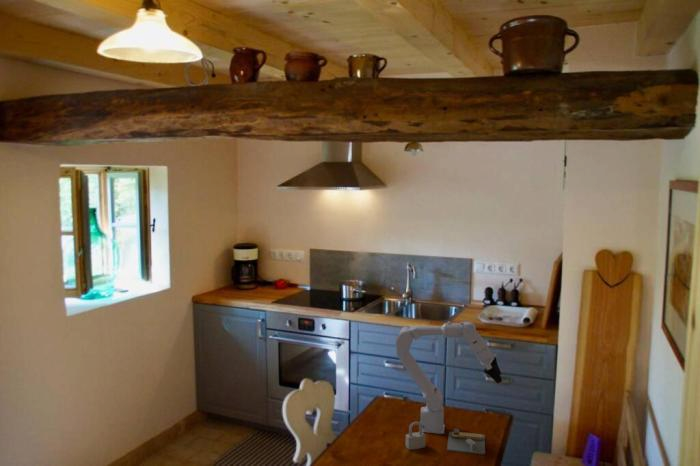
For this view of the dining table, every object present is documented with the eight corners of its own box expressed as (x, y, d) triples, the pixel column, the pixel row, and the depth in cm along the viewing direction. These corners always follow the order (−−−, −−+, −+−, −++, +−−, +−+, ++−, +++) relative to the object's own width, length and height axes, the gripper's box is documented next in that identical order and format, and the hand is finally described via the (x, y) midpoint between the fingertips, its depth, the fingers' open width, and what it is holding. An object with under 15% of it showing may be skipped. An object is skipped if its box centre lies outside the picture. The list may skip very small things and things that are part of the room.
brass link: (451, 437, 224) (451, 435, 224) (451, 433, 228) (451, 431, 228) (482, 440, 222) (482, 438, 222) (482, 436, 225) (482, 433, 225)
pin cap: (453, 433, 225) (453, 430, 225) (453, 431, 227) (453, 428, 227) (459, 434, 224) (459, 431, 224) (459, 431, 226) (459, 428, 226)
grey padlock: (421, 443, 221) (421, 418, 220) (426, 447, 218) (426, 422, 217) (404, 446, 219) (405, 421, 218) (409, 450, 215) (409, 425, 214)
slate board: (447, 450, 215) (447, 449, 215) (449, 432, 230) (449, 431, 230) (485, 454, 212) (485, 453, 212) (484, 436, 227) (484, 434, 227)
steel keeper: (465, 445, 218) (465, 439, 218) (469, 444, 219) (470, 438, 218) (471, 450, 214) (471, 444, 214) (476, 449, 215) (476, 443, 215)
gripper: (490, 350, 218) (509, 380, 218) (489, 339, 233) (507, 367, 232) (474, 358, 220) (493, 388, 220) (474, 347, 234) (492, 375, 234)
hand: (499, 378), depth 226 cm, fingers open, 7 cm apart
